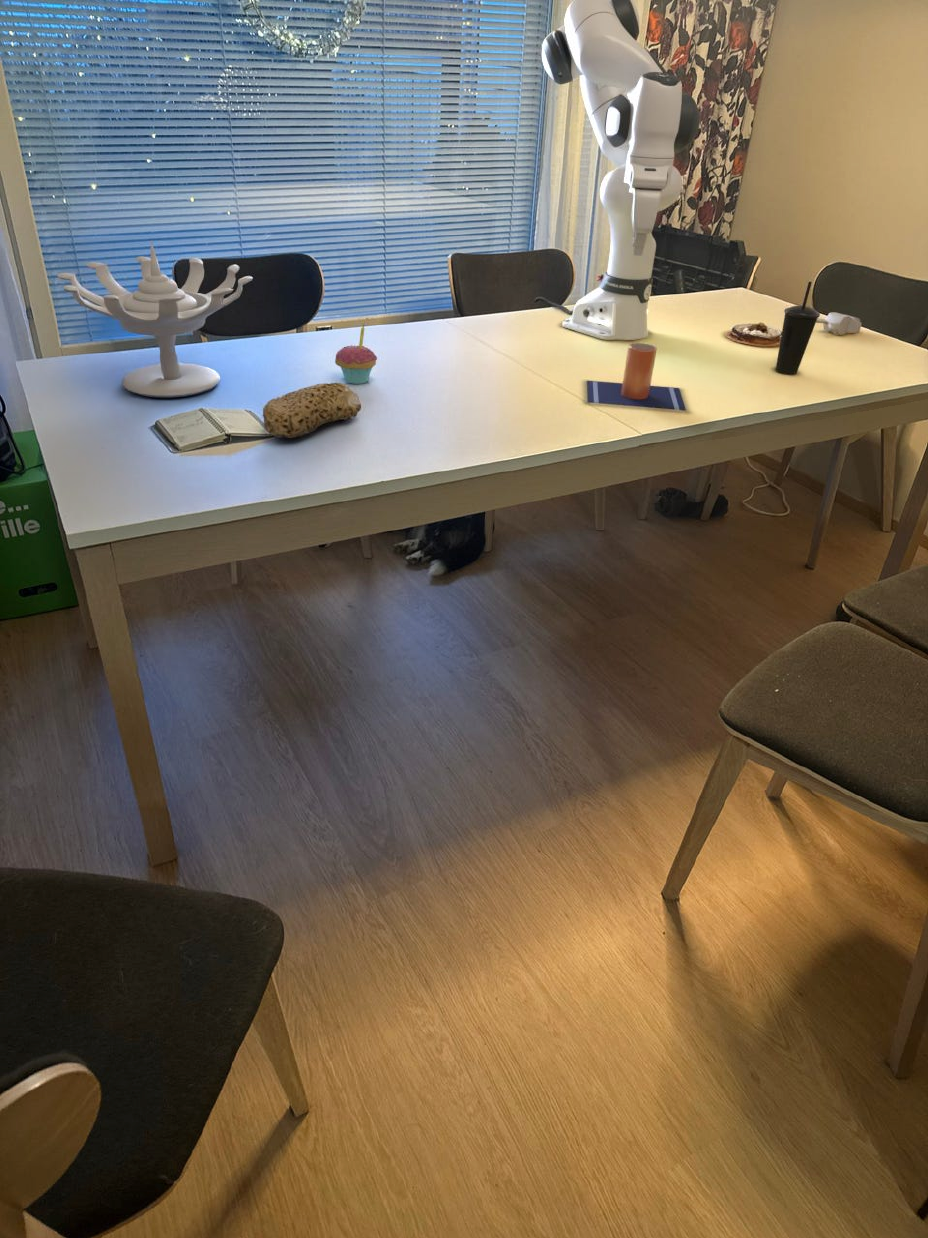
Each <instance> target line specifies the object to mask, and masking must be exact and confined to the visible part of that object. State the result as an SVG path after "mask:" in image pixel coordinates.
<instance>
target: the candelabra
mask: <svg viewBox="0 0 928 1238" xmlns="http://www.w3.org/2000/svg"><path fill="white" fill-rule="evenodd" d="M155 251H156V250H155V248H154V245H153V242H152V241H150V257H147V256H141V255H140V256H137V257H135V261H137V262H138V263H139V264H140V270H141V278H142V279H141V280H140V281H139V283H138V286H137V288H138V289H136V290H135V291H132V292H131V291H129V290H127V289H125V288H124V287H123V286H121V285H120V283H118V282H117V281H116V280H115V279H114V277H113V275H112V273H111V271H110V268H109V266H108V265H107V264H105V263H102V262H96V261H89V262H87V263H85V264H84V266H86V267H87V268H89V269H92V270H95V273H96V277H97V280H98V282H99V283H100V284H101V285H102V286H103V287H104V288H105V289H106V290H107V291H108V292H109V293H110V294H104V295H103V296H101V295H98V294H96V293H93V292H92V291H90V290H88V289H87V288H85V287H83V286H82V285H81V283H80V282H79V281H78V279H77V276H76V273H71V272H60V273H58V274H56V276H57V278H58V279H60V280H64V281H70V285H68V284H67V285H64V286H62V289H63V290H64V291H65V292H68V293H72V297H73V298H74V300H75V301H76V302H77V303H78V304H79V305H80V306H82V307H84V308H87V309H89V310H90V311H93V312H96V313H98V314H101V315H104V316H107V317H109V318H112V319H114V320H116V321H118V323H119V324H120V326H121V328H122V329H123V330H125V331H126V332H129V333H132V334H137V335H141V336H143V335H144V336H153V337H154V338H155V341H156V343H157V345H158V348H159V361H160V363H157V364H152V365H146V366H143V367H139V368H136V369H133V371H131V372H129V373H127V374H126V375H125V376H124V377H123V378H122V386H123V388H124V389H126V390H127V391H129V392H130V393H133V394H137V395H140V396H144V397H151V398H167V399H168V398H170V399H171V398H181V397H188V396H193V395H194V396H195V395H199V394H202V393H204V392H208V391H210V390H212V389H213V388H215V387H216V386H218V384H219V382H220V380H221V377H220V374H219V373H218V372H217V370H214V369H212V368H211V367H207V366H204V365H202V364H201V365H200V364H195V363H189V362H187V363H186V362H179V360H178V359H179V358H178V354H177V351H176V339H177V335H183V334H188V333H192V332H195V331H197V330H200V329H201V328H203V327H204V325H205V323H206V319H207V318H208V317H209V316H210V315H212V314H214V313H215V312H217V311H219V310H221V309H223V308H225V307H226V306H228V305H230V304H231V303H233V302H234V301H235V300H237V299H239V298H240V297H241V295H242V292H243V285H246V284H248V283H249V282H251V281H253V279H254V278H253V277H252V276H251V275H247V276H243V277H241V278H239V279H238V280H237V288H236V290H235V292H233V291H234V286H235V283H236V274H237V273H238V272H239V270H240V266H239V265H237V264H231V265H229V267H227V268H226V269H227V274H226V277H225V279H224V280H223V282H222V283H221V284H220V285H218V287H216V288H215V289H213V290H211V291H209V292H207V293H201V292H200V293H199V289H200V287H201V284H202V282H203V280H204V277H205V268H204V261H203V260H202V259H201V258H199V257H195V256H194V257H190V258H189V259H188V261H189V272H188V277H187V279H186V280H185V283H184V285H182V287H181V288H178V284H177V282H176V281H175V280H173V279H172V278H169V277H168V276H167V274H164V273H162V271H161V269H160V265H159V262H158V261H159V260H158V258H157V255H156V252H155ZM232 292H233V293H232ZM231 293H232V294H231ZM228 294H230V295H228ZM225 295H228V296H227V297H225V298H224V296H225Z"/></svg>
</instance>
